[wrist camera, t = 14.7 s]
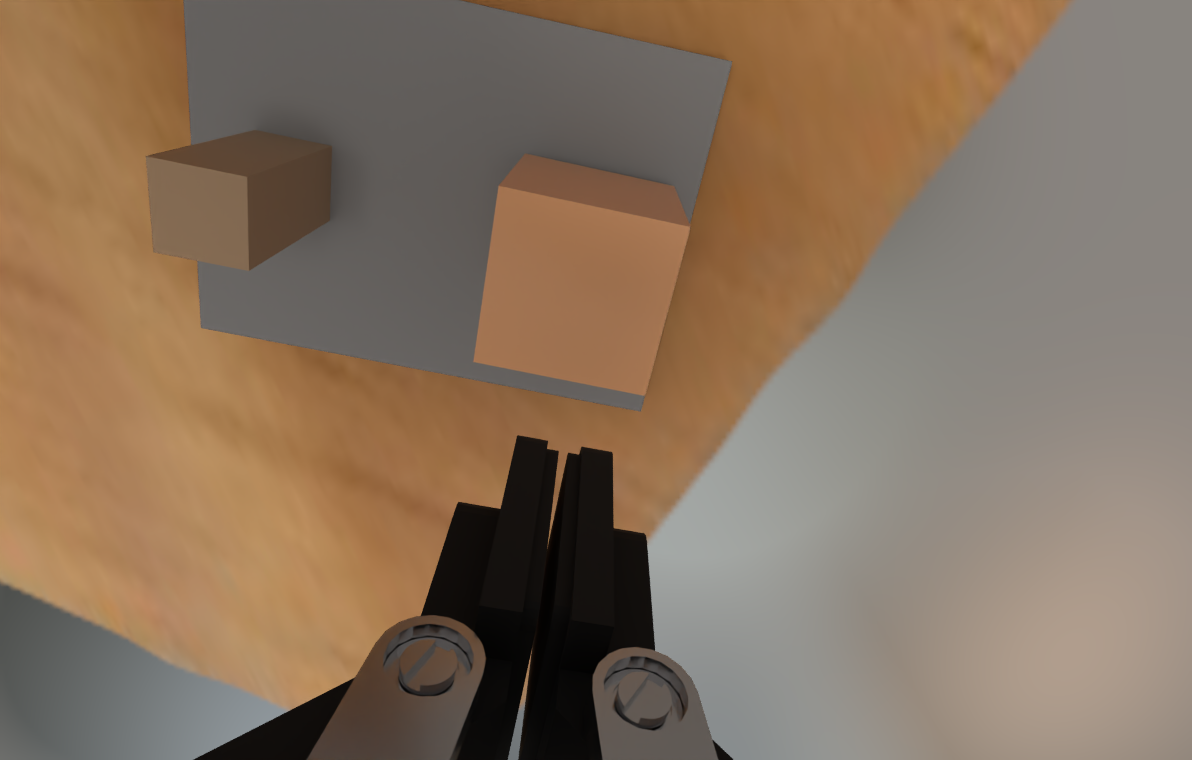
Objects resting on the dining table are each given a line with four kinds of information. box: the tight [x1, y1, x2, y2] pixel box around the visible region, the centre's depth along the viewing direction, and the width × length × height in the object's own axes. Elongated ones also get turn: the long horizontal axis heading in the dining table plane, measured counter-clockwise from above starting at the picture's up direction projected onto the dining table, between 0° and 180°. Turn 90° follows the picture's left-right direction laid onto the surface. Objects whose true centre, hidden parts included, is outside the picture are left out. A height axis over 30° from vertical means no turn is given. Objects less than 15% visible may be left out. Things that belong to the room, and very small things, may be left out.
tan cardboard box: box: [473, 154, 691, 396], centre depth 25 cm, size 6×6×7 cm
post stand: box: [146, 0, 732, 411], centre depth 26 cm, size 15×20×8 cm
